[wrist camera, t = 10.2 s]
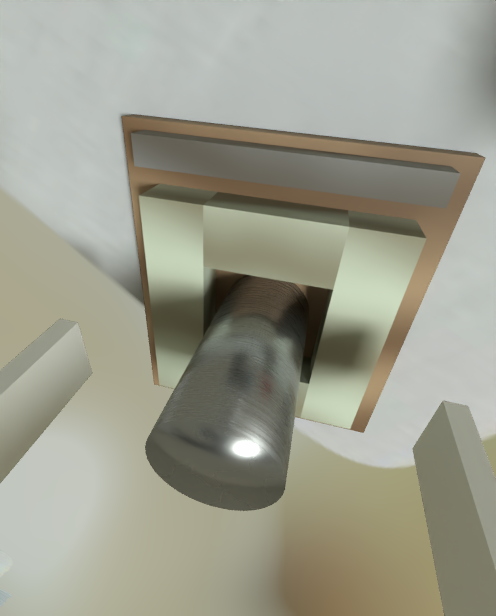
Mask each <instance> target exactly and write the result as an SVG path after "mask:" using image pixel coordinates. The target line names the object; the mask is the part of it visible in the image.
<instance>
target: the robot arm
mask: <svg viewBox="0 0 496 616" xmlns="http://www.w3.org/2000/svg"><path fill="white" fill-rule="evenodd" d="M91 374H92V370H91V366H90V363H89V359H88V356H87V352H86V349H85V345H84V342H83V338H82V335H81V331H80V328H79V324H78V322H74V321H69V320H64V319H59V320H58V321H57V322H55V323H54V324H53V325H52V326H51V327H50V328H48V329H47V330H46V331H45V332H44V333H43V334H42V335H40V336H39V337H38V338H37V339H36V340H35V341H33V342H32V343H31V344H30V345H29V346H28V347H26V348H25V349H24V350H23V351H22V352H21V353H20V354H18V355H17V356H16V357H15V358H14V359H13V360H11V361H10V362H9V363H8V364H7V365H6V366H5V367H3V368H2V369H1V370H0V483H1V482H2V481H3V480H4V478H5V477H6V476H7V475H8V474H9V472H10V471H11V470H12V469H13V468H14V466H15V465H16V464H17V463H18V462H19V460H20V459H21V458H22V457H23V456H24V454H25V453H26V452H27V451H28V450H29V448H30V447H31V446H32V445H33V444H34V442H35V441H36V440H37V439H38V438H39V437H40V435H41V434H42V433H43V432H44V430H45V429H46V428H47V427H48V426H49V424H50V423H51V422H52V421H53V420H54V419H55V417H56V416H57V415H58V414H59V413H60V411H61V410H62V409H63V408H64V407H65V405H66V404H67V403H68V402H69V400H70V399H71V398H72V397H73V396H74V395H75V393H76V392H77V391H78V390H79V389H80V387H81V386H82V385H83V384H84V383H85V381H86V380H87V379H88V378H89V377H90V375H91ZM413 454H414V459H415V464H416V469H417V475H418V479H419V485H420V491H421V495H422V501H423V506H424V512H425V517H426V522H427V527H428V533H429V538H430V543H431V548H432V554H433V559H434V564H435V570H436V575H437V580H438V585H439V591H440V596H441V600H442V606H443V612H444V616H496V478H495V475H494V473H493V470H492V467H491V465H490V462H489V459H488V457H487V454H486V452H485V449H484V446H483V444H482V441H481V438H480V436H479V433H478V431H477V428H476V425H475V423H474V420H473V417H472V415H471V412H470V410H469V407H468V406H466V405H461V404H457V403H452V402H447V401H442V403H441V404H440V406H439V408H438V409H437V411H436V412H435V414H434V416H433V417H432V419H431V420H430V422H429V423H428V425H427V427H426V428H425V430H424V431H423V433H422V435H421V436H420V438H419V439H418V441H417V442H416V444H415V446H414V447H413Z"/></svg>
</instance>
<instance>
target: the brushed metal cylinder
mask: <svg viewBox="0 0 496 616" xmlns="http://www.w3.org/2000/svg"><path fill="white" fill-rule="evenodd" d="M308 317H309V306H308V302H307V299H306V297H305V295H304V293H303V292H302V291H301V289H300V288H299V287H298V286H297V285H296V284H295V283H292V282H286V281H280V280H275V279H269V278H263V277H257V276H252V275H245V276H243V277H241V278H239V279H238V280H237V281H236V282H234V284H233V285H232V286H231V287H230V289H229V291H228V292H227V294H226V296H225V298H224V300H223V302H222V303H221V305H220V307H219V309H218V311H217V313H216V314H215V316H214V318H213V320H212V322H211V324H210V325H209V327H208V329H207V331H206V333H205V334H204V336H203V338H202V340H201V342H200V344H199V345H198V347H197V349H196V351H195V353H194V355H193V356H192V358H191V360H190V362H189V364H188V365H187V367H186V369H185V371H184V373H183V375H182V376H181V378H180V380H179V382H178V384H177V386H176V387H175V389H174V391H173V393H172V395H171V397H170V398H169V400H168V402H167V404H166V406H165V407H164V410H163V411H162V413H161V415H160V417H159V419H158V420H157V422H156V424H155V426H154V428H153V429H152V431H151V433H150V435H149V437H148V439H147V441H146V446H145V450H146V455H147V459H148V461H149V463H150V465H151V466H152V468H153V469H154V471H155V472H156V473H157V474H158V475H159V476H160V477H161V478H162V479H163V480H164V481H165V482H166V483H168V484H169V485H170V486H171V487H173V488H174V489H176V490H177V491H179V492H181V493H182V494H184V495H186V496H188V497H190V498H192V499H194V500H196V501H199V502H202V503H204V504H207V505H211V506H215V507H218V508H223V509H228V510H240V511H241V510H243V511H247V510H257V509H261V508H265V507H268V506H270V505H272V504H274V503H275V502H277V501H278V500H279V499H280V498H281V496H282V495H283V493H284V490H285V484H286V477H287V469H288V462H289V455H290V447H291V441H292V433H293V426H294V419H295V412H296V405H297V397H298V390H299V383H300V375H301V368H302V361H303V354H304V346H305V339H306V332H307V325H308Z"/></svg>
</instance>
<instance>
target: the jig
mask: <svg viewBox="0 0 496 616" xmlns="http://www.w3.org/2000/svg"><path fill="white" fill-rule="evenodd" d="M122 123H123V131H124V139H125V147H126V156H127V164H128V172H129V180H130V189H131V197H132V205H133V214H134V222H135V230H136V238H137V247H138V255H139V263H140V271H141V280H142V288H143V296H144V304H145V313H146V321H147V329H148V337H149V345H150V353H151V362H152V370H153V379H154V384H155V385H159V386H163V387H168V388H172V389H175V387H176V386H177V384H178V382H179V380H180V378H181V376H182V375H183V373H184V371H185V369H186V367H187V365H188V364H189V362H190V360H191V358H192V356H193V355H194V353H195V351H196V349H197V347H198V345H199V344H200V342H201V340H202V338H203V336H204V334H205V333H206V331H207V329H208V327H209V325H210V324H211V322H212V320H213V318H214V316H215V314H216V313H217V311H218V309H219V307H220V305H221V303H222V302H223V300H224V298H225V296H226V294H227V292H228V291H229V289H230V287H231V286H232V285H233V284H234V282H236V281H237V280H238V279H239V278H241V277H243V276H245V275H252V276H257V277H263V278H269V279H275V280H280V281H286V282H292V283H295V284H296V285H297V286H298V287H299V288H300V289H301V291H302V292H303V293H304V295H305V297H306V299H307V302H308V306H309V317H308V325H307V332H306V339H305V346H304V354H303V361H302V368H301V375H300V383H299V390H298V397H297V405H296V412H295V417H298V418H302V419H306V420H311V421H315V422H319V423H324V424H328V425H332V426H336V427H341V428H345V429H349V430H354V431H358V432H362V433H364V431H365V428H366V426H367V424H368V422H369V419H370V417H371V415H372V413H373V410H374V408H375V406H376V404H377V401H378V399H379V397H380V395H381V392H382V390H383V388H384V386H385V383H386V381H387V379H388V377H389V374H390V372H391V370H392V368H393V365H394V363H395V361H396V358H397V356H398V354H399V352H400V349H401V347H402V345H403V343H404V340H405V338H406V336H407V334H408V331H409V329H410V327H411V325H412V322H413V320H414V318H415V316H416V313H417V311H418V309H419V307H420V304H421V302H422V300H423V298H424V295H425V293H426V291H427V289H428V286H429V284H430V282H431V280H432V277H433V275H434V273H435V271H436V268H437V266H438V264H439V262H440V259H441V257H442V255H443V253H444V250H445V248H446V246H447V244H448V241H449V239H450V237H451V235H452V232H453V230H454V228H455V226H456V223H457V221H458V219H459V217H460V214H461V212H462V210H463V208H464V205H465V203H466V201H467V199H468V196H469V194H470V192H471V190H472V187H473V185H474V183H475V181H476V178H477V176H478V174H479V172H480V169H481V167H482V165H483V163H484V160H485V157H483V156H481V155H479V154H477V153H470V152H461V151H453V150H444V149H435V148H426V147H417V146H408V145H400V144H391V143H382V142H373V141H364V140H356V139H347V138H338V137H329V136H320V135H311V134H303V133H294V132H285V131H276V130H267V129H258V128H250V127H241V126H232V125H223V124H214V123H205V122H197V121H188V120H179V119H170V118H161V117H153V116H144V115H135V114H133V115H126V116H122Z"/></svg>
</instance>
